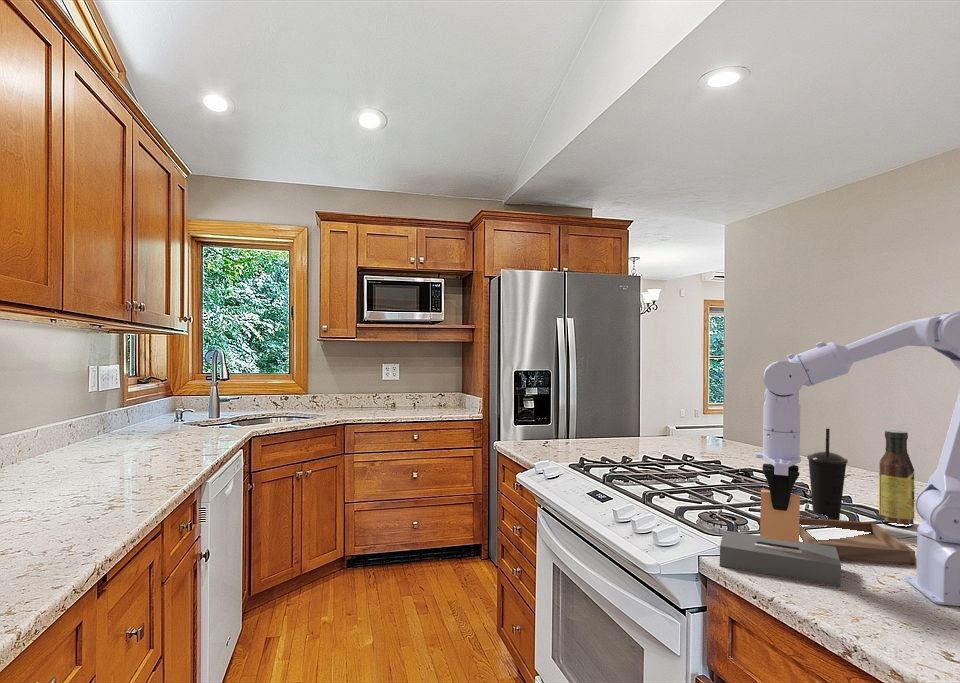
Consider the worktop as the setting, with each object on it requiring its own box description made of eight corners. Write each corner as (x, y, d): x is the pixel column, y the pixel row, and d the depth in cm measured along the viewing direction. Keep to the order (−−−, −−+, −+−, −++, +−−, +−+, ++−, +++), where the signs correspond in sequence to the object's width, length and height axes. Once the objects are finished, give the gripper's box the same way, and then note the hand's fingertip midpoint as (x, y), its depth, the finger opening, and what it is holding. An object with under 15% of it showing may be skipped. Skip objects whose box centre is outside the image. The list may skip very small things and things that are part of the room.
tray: (914, 565, 103) (915, 551, 103) (815, 557, 106) (815, 543, 106) (873, 534, 119) (873, 522, 119) (787, 528, 122) (787, 516, 122)
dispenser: (835, 567, 102) (835, 545, 102) (840, 586, 94) (841, 563, 94) (723, 548, 110) (723, 528, 110) (719, 565, 102) (720, 544, 102)
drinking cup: (798, 517, 130) (799, 427, 129) (820, 513, 133) (822, 425, 132) (831, 527, 123) (833, 432, 122) (854, 523, 126) (856, 430, 125)
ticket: (798, 540, 101) (799, 494, 101) (798, 543, 100) (800, 496, 100) (760, 534, 104) (761, 489, 104) (759, 536, 103) (760, 491, 102)
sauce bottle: (920, 529, 122) (922, 434, 122) (886, 527, 123) (888, 433, 123) (904, 519, 128) (906, 429, 128) (872, 517, 130) (874, 428, 129)
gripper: (756, 422, 110) (755, 494, 110) (754, 434, 97) (753, 516, 97) (799, 425, 107) (798, 499, 107) (803, 438, 94) (801, 522, 94)
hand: (779, 508), depth 102 cm, fingers closed on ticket, 1 cm apart
